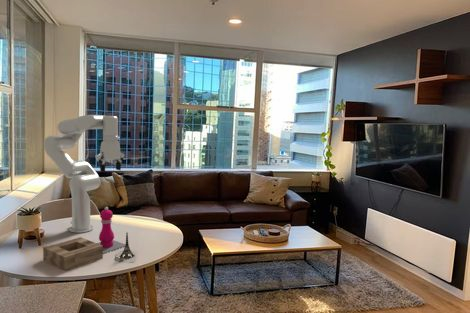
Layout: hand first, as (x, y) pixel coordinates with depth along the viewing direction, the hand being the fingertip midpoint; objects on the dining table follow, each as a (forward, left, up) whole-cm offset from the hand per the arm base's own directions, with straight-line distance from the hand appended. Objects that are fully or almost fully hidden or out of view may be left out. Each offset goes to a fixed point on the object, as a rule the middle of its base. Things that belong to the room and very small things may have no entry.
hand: (110, 170), depth 189 cm
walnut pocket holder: (+14, -30, -36) cm, 49 cm away
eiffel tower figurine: (+30, -13, -37) cm, 49 cm away
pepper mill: (+12, -11, -36) cm, 39 cm away
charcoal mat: (+12, -11, -36) cm, 40 cm away
